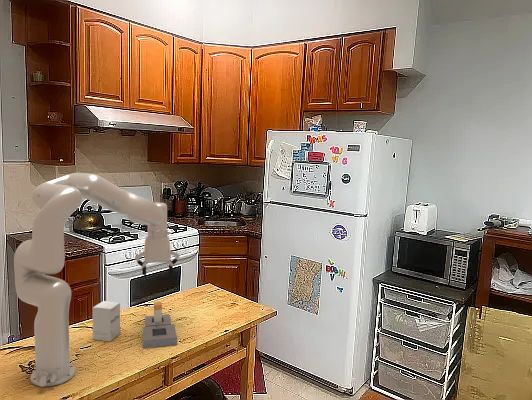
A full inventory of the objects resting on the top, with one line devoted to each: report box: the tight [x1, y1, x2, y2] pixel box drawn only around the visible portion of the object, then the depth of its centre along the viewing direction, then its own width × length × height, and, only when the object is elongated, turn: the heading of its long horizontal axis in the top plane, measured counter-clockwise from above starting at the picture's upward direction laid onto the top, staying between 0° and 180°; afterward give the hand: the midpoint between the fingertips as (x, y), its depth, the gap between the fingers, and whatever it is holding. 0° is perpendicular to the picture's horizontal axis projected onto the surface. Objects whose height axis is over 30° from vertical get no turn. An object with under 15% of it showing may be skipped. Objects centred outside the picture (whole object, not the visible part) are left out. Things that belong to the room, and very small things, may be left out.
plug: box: [153, 301, 163, 323], centre depth 176 cm, size 4×3×9 cm
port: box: [142, 323, 178, 349], centre depth 163 cm, size 12×12×3 cm
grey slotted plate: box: [144, 313, 172, 327], centre depth 176 cm, size 10×10×2 cm
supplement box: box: [92, 300, 121, 342], centre depth 164 cm, size 7×7×13 cm
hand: (157, 275), depth 174 cm, fingers open, 9 cm apart
